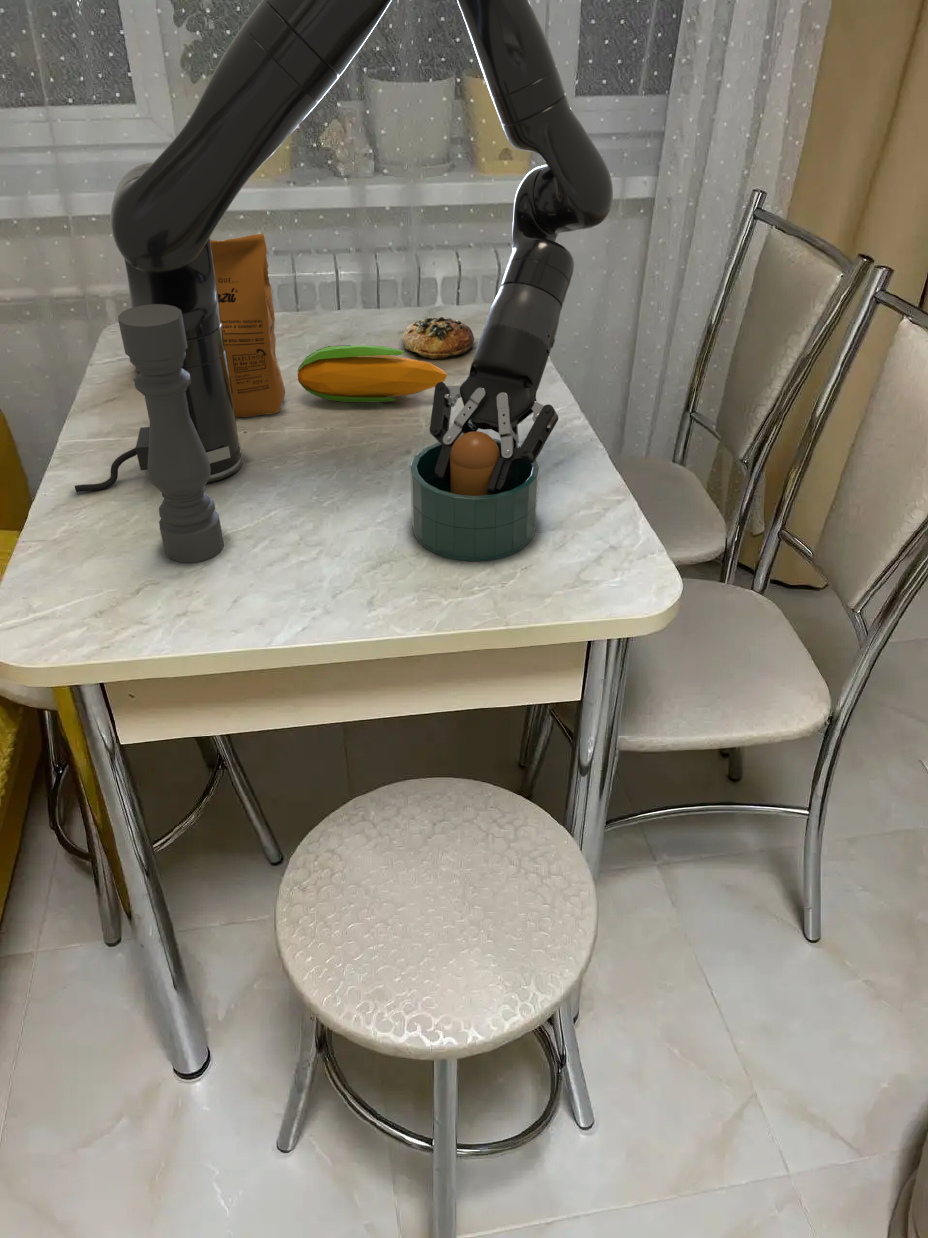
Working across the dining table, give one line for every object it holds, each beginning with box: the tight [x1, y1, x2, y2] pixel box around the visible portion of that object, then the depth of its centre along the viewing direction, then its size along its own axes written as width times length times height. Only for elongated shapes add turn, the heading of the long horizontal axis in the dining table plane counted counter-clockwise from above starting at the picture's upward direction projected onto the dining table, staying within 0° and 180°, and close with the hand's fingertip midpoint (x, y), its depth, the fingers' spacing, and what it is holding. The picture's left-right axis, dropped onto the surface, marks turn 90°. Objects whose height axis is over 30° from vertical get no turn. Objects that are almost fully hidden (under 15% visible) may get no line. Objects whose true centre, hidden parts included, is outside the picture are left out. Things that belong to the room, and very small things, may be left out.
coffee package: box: [210, 233, 286, 418], centre depth 125 cm, size 10×12×22 cm
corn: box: [296, 344, 448, 403], centre depth 131 cm, size 7×8×20 cm
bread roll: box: [401, 316, 475, 360], centre depth 147 cm, size 11×11×5 cm
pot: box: [409, 437, 540, 562], centre depth 105 cm, size 13×13×8 cm
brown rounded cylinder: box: [450, 430, 500, 496], centre depth 103 cm, size 5×5×10 cm
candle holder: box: [117, 304, 225, 564], centre depth 96 cm, size 6×6×25 cm
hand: (467, 488), depth 102 cm, fingers closed on brown rounded cylinder, 5 cm apart
